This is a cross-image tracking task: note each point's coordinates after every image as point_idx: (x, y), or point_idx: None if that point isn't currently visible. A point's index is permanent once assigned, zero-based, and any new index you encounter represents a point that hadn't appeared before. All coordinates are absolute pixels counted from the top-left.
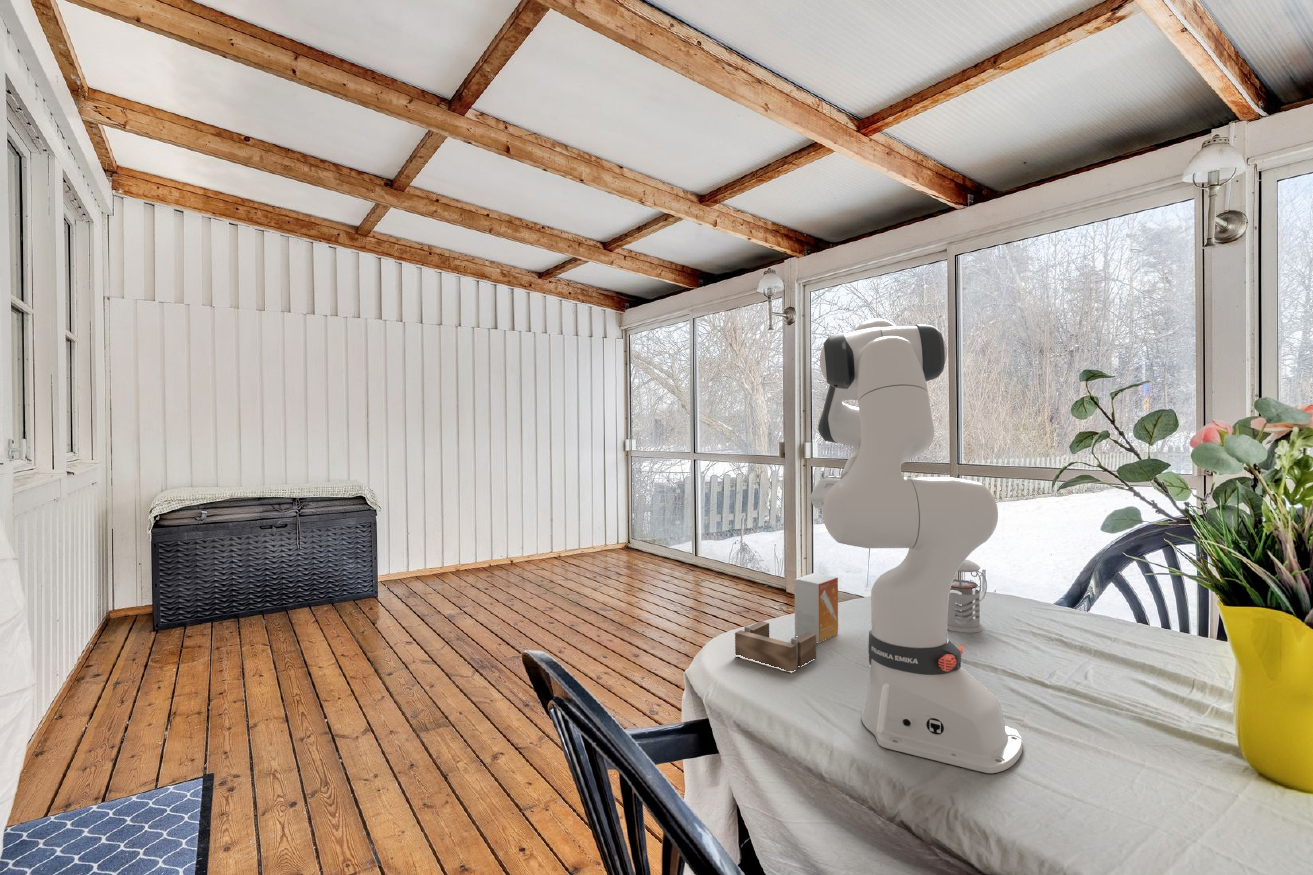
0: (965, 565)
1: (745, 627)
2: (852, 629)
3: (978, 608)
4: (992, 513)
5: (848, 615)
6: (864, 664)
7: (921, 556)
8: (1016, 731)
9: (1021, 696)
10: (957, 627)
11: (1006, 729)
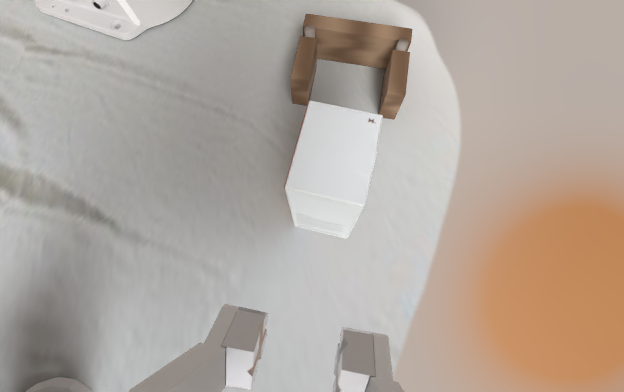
0: None
1: (405, 40)
2: (276, 272)
3: None
4: None
5: (310, 373)
6: (220, 116)
7: None
8: (36, 2)
9: (9, 109)
10: (56, 386)
11: (45, 2)
